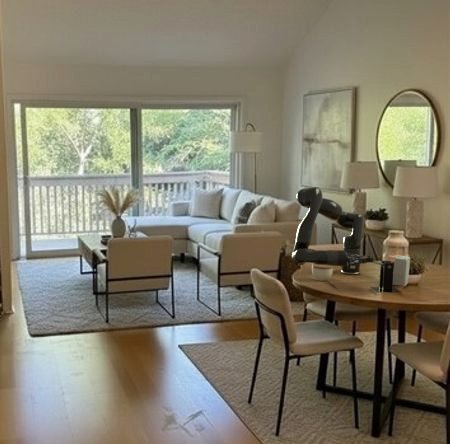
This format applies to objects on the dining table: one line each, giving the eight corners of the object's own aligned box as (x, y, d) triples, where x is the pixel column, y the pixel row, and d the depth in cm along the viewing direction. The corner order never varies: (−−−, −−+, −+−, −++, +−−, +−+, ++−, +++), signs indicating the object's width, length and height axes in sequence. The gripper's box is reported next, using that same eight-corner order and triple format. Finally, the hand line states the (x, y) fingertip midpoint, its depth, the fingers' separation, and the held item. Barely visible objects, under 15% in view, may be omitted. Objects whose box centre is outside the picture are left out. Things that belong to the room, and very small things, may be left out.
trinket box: (310, 276, 303) (311, 259, 301) (331, 277, 300) (332, 260, 299) (311, 281, 292) (312, 263, 291) (333, 282, 290) (334, 264, 289)
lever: (361, 262, 268) (363, 255, 268) (358, 261, 272) (361, 254, 271) (390, 270, 268) (392, 263, 268) (387, 269, 272) (389, 262, 272)
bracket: (376, 294, 267) (378, 264, 265) (369, 289, 277) (371, 259, 275) (402, 295, 267) (404, 264, 265) (394, 289, 277) (395, 259, 274)
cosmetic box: (395, 283, 288) (397, 254, 286) (408, 285, 285) (410, 256, 283) (392, 286, 281) (393, 257, 279) (405, 288, 278) (407, 259, 276)
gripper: (340, 253, 263) (377, 254, 262) (331, 247, 277) (367, 248, 276) (338, 269, 264) (376, 270, 263) (330, 262, 278) (366, 263, 277)
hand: (371, 259), depth 270 cm, fingers closed on lever, 3 cm apart
